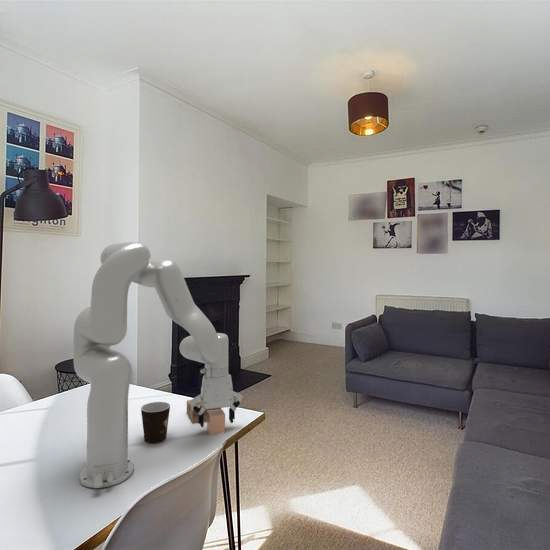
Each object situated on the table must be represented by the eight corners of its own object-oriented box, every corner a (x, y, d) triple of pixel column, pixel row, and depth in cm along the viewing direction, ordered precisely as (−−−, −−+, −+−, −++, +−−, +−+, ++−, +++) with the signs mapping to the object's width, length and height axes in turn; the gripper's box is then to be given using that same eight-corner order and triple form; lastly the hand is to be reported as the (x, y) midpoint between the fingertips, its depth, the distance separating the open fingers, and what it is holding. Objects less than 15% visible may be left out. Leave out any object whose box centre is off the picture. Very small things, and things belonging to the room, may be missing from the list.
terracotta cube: (224, 432, 119) (225, 414, 119) (209, 435, 117) (209, 416, 117) (221, 426, 124) (222, 408, 123) (206, 428, 122) (207, 410, 122)
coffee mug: (156, 430, 120) (157, 399, 120) (175, 436, 115) (176, 405, 115) (126, 444, 110) (126, 411, 110) (145, 452, 105) (145, 417, 105)
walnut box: (221, 420, 129) (221, 406, 129) (192, 424, 125) (192, 410, 125) (213, 410, 139) (213, 396, 138) (186, 414, 134) (186, 400, 134)
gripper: (191, 377, 114) (191, 432, 114) (245, 372, 120) (245, 424, 120) (188, 370, 121) (188, 422, 121) (239, 366, 127) (239, 415, 127)
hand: (216, 423), depth 121 cm, fingers open, 9 cm apart
